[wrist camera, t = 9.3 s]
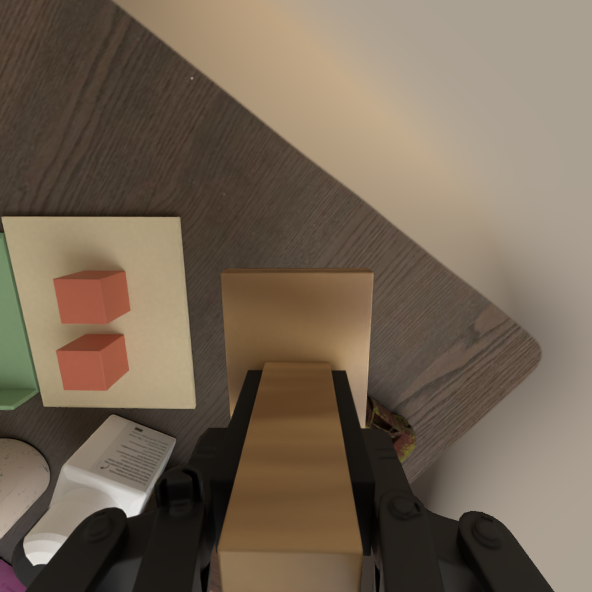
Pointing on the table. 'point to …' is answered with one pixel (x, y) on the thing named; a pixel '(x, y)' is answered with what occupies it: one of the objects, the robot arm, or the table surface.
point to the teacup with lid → (19, 480)
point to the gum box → (9, 579)
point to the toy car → (391, 428)
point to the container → (96, 488)
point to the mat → (133, 325)
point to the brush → (294, 427)
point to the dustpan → (13, 341)
